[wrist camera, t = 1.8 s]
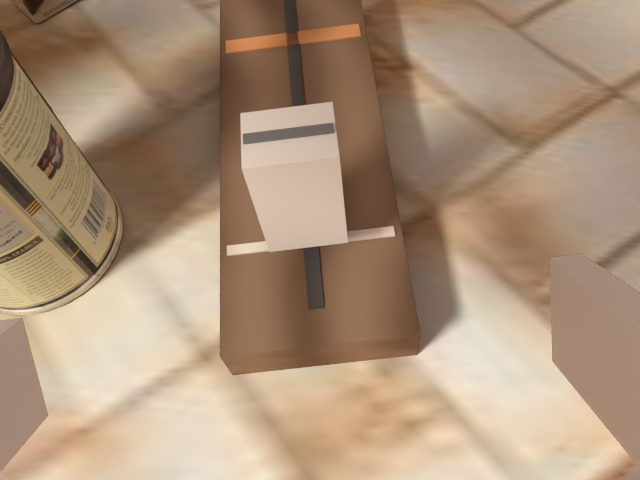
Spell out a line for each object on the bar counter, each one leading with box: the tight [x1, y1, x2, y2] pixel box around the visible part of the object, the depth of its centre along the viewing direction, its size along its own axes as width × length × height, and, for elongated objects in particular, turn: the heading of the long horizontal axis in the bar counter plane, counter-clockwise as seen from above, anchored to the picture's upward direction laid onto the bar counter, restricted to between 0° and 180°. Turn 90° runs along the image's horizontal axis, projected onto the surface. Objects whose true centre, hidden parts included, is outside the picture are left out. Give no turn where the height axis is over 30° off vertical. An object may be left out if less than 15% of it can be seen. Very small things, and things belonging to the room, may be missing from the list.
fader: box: [240, 102, 348, 252], centre depth 29 cm, size 4×3×9 cm
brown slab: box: [220, 0, 420, 375], centre depth 38 cm, size 10×28×3 cm, turn 5°
